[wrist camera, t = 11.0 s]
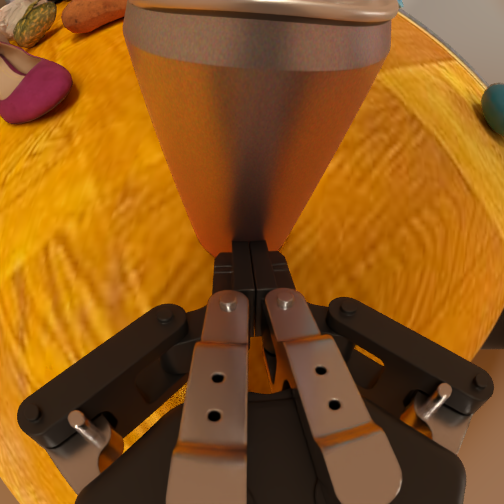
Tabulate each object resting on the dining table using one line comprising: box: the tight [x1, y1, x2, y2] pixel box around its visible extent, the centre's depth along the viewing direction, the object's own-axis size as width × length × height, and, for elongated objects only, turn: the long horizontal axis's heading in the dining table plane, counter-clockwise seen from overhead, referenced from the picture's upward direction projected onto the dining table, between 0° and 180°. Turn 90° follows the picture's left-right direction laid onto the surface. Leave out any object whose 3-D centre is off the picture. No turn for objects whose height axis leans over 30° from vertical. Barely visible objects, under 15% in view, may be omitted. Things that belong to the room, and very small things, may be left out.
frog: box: [0, 0, 57, 48], centre depth 20 cm, size 12×13×18 cm
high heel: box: [0, 41, 73, 124], centre depth 14 cm, size 9×26×12 cm, turn 67°
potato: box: [61, 0, 127, 33], centre depth 21 cm, size 7×13×7 cm, turn 123°
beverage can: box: [123, 0, 399, 257], centre depth 10 cm, size 6×6×15 cm
